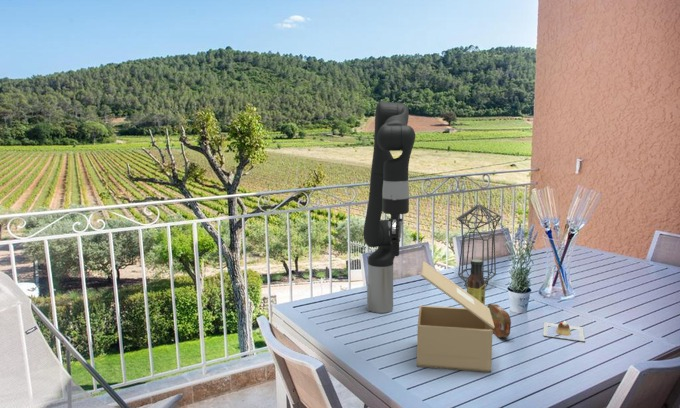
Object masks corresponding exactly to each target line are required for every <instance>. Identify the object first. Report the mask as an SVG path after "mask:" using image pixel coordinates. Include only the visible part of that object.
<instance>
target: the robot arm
mask: <svg viewBox="0 0 680 408" xmlns="http://www.w3.org/2000/svg"><path fill="white" fill-rule="evenodd" d="M409 112H410V111H409V107H408V106H407V104H405V103H403V102H393V101H390V102H389V101H379V102H378V103H377V104H376V108H375V115H374V134H373V135H374V138H373V139H374V140H373V152H372V153H373V154H372V162H371V168H370V169H371V170H370V177H369V179H370V180H369V194H368V203H367V209H366V214H365V220H364V225H363V240H364V243H365V244H366V246H368V247H370V248H375V247H376V248H377V247H378V248H377V249H376V250H375V251H374V252H373V253H371V254H370V255H369V256H368V258H367V286H366V294H367V295H366V296H367V297H366V310H367V312H371V313H377V314H378V313H379V314H386V313H390V312H392V311H393V310H394V262H395V261H394V260H395V258H396V257H399V256H400V242H401V238H402V233H403V232H402V231H403V222H404V219H403V218H401V215H406V214H409V211H410V186H409V166H410V159H411V154H412V151H413V147H414V144H415V140H416V132H415V130H414V128H413V127H412V126H411V125H408V123H409V116H410V115H409V114H410V113H409ZM399 151H401V154H400V155H399V156H398V157H396V158H394V157H393V155H392V153H391V152H399ZM382 214H387V215H390V217H389V218H388V219H381V218H382Z"/></svg>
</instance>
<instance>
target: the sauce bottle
mask: <svg viewBox="0 0 680 408" xmlns="http://www.w3.org/2000/svg"><path fill="white" fill-rule="evenodd" d="M482 265H483V261H482V259H476V258H475V259H474V258H473V260H472V259H471V260H470V269H471V270H470V274H469V276H467V277H468V279H467V282H468V283H467V286H466V292H467V293H469V294H470V295H471V296H473V297H474V298H476V299H477V300H478V301H480V302H481V303H483V304H484V305H485V306H486V287H485V286H486V283H485V280H486V279H484V278H485V276H484V274H482Z"/></svg>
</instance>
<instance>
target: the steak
mask: <svg viewBox="0 0 680 408" xmlns="http://www.w3.org/2000/svg"><path fill="white" fill-rule="evenodd" d="M486 306H487V307H488V308H489V309H490V313H491V316H492V320H493V323H494V326H495V328H494V329H493V328H492V330H493V333H492V334H494V335H495V336H496V337H498V338H508V337H509V336H510V334H511V325H512V321H511V316H510V315H509V313H508V312H507V311H506V310H505V309H504V308H503V307H501V306H500V305H499V304H496V303H495V304H494V303H488V305H486Z"/></svg>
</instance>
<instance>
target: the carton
mask: <svg viewBox="0 0 680 408" xmlns="http://www.w3.org/2000/svg"><path fill="white" fill-rule="evenodd" d="M416 331H417V335H416V336H417V341H416V342H417V343H416V344H417V345H416V347H417V348H416V367H418V368H419V367H420V368H429V369H430V368H431V369H444V370H456V371H470V372H480V371H482V373H491V372H492V354H493V352H492V350H493V334H494V333H493V330H492V327H490V326H489V325H488V324H486V323H485V322H484V321H482V320H481V319H479V318H478V317H477V316H475V315H474V314H473V313H471V312H470V311H468V310H467V309H466V308H464V307H451V306H434V305H419V308H418V317H417V330H416Z"/></svg>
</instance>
